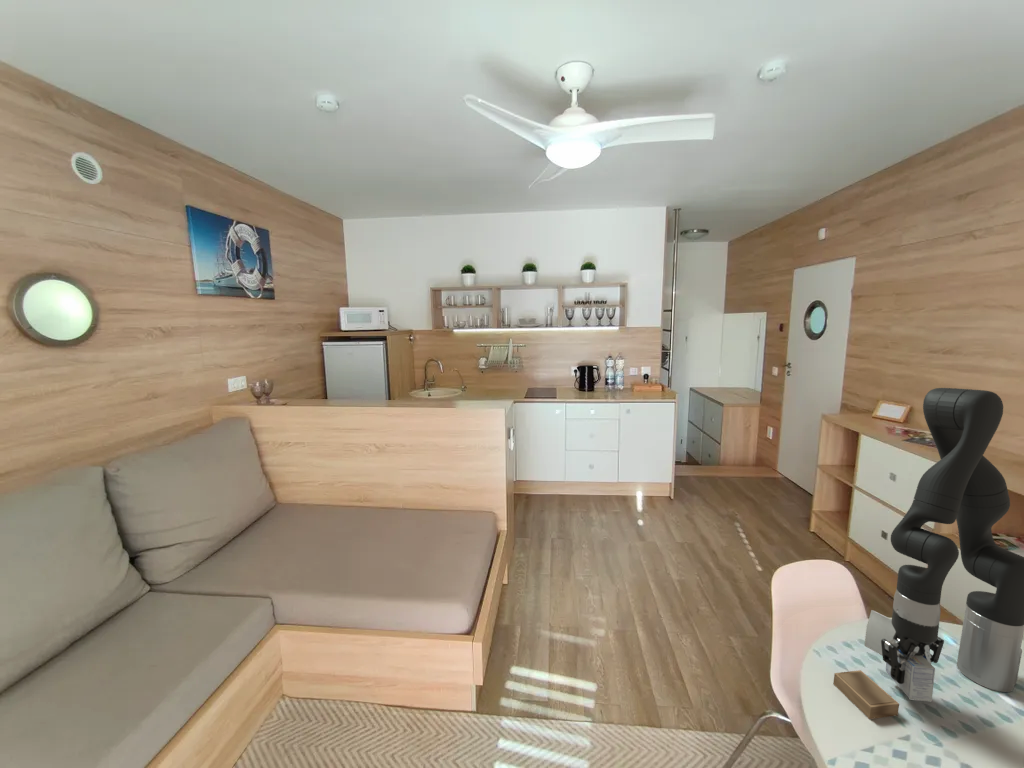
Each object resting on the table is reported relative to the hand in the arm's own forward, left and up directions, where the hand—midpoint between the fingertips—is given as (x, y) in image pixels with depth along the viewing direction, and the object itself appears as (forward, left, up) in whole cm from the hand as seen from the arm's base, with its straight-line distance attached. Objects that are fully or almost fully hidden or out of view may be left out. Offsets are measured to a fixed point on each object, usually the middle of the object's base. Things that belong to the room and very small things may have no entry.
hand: (908, 678), depth 95 cm
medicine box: (0, 0, -2) cm, 2 cm away
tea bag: (-8, -12, -5) cm, 15 cm away
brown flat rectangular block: (+11, 0, -4) cm, 11 cm away
